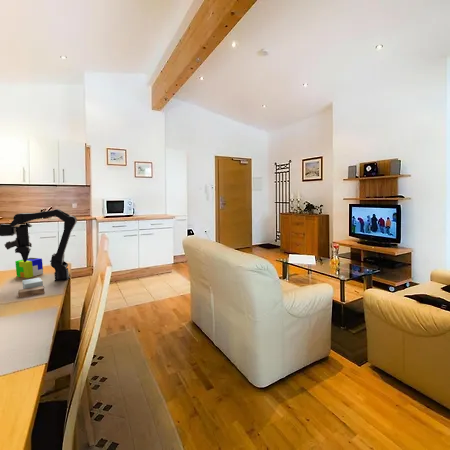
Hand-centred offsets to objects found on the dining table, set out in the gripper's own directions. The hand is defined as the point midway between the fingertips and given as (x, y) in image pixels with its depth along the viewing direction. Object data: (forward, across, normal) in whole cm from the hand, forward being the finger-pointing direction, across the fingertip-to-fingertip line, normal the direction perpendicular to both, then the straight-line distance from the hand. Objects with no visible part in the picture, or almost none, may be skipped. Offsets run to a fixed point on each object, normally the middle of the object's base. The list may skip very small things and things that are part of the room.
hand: (25, 261), depth 163 cm
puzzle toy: (+13, -18, 0) cm, 22 cm away
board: (+13, +24, +4) cm, 27 cm away
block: (+13, +15, +4) cm, 20 cm away
